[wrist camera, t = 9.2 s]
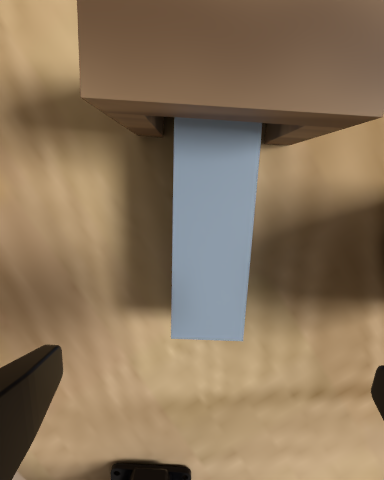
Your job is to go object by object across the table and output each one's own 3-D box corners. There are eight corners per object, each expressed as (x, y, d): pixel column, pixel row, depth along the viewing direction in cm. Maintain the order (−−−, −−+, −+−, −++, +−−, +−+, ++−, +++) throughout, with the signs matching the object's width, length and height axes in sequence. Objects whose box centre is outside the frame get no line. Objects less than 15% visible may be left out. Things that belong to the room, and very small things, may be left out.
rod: (232, 306, 19) (243, 340, 15) (176, 304, 19) (171, 338, 15) (252, 44, 15) (273, -2, 11) (180, 42, 15) (175, -5, 11)
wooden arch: (289, 145, 16) (382, 117, 8) (137, 135, 16) (80, 97, 8) (297, 89, 15) (409, -4, 7) (138, 78, 15) (76, -25, 7)
